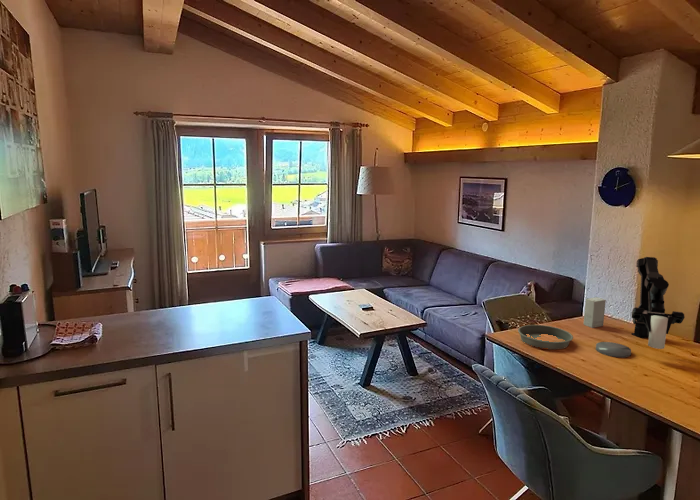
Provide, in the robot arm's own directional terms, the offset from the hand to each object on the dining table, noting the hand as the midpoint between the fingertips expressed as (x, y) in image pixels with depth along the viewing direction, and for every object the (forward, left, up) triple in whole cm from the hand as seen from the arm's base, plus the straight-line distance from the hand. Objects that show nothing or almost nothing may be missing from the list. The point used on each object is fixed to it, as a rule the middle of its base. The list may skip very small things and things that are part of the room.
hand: (658, 332), depth 197 cm
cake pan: (+28, -35, -13) cm, 47 cm away
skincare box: (-14, -45, -13) cm, 49 cm away
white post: (-1, -1, -7) cm, 7 cm away
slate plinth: (+8, -14, -13) cm, 21 cm away
